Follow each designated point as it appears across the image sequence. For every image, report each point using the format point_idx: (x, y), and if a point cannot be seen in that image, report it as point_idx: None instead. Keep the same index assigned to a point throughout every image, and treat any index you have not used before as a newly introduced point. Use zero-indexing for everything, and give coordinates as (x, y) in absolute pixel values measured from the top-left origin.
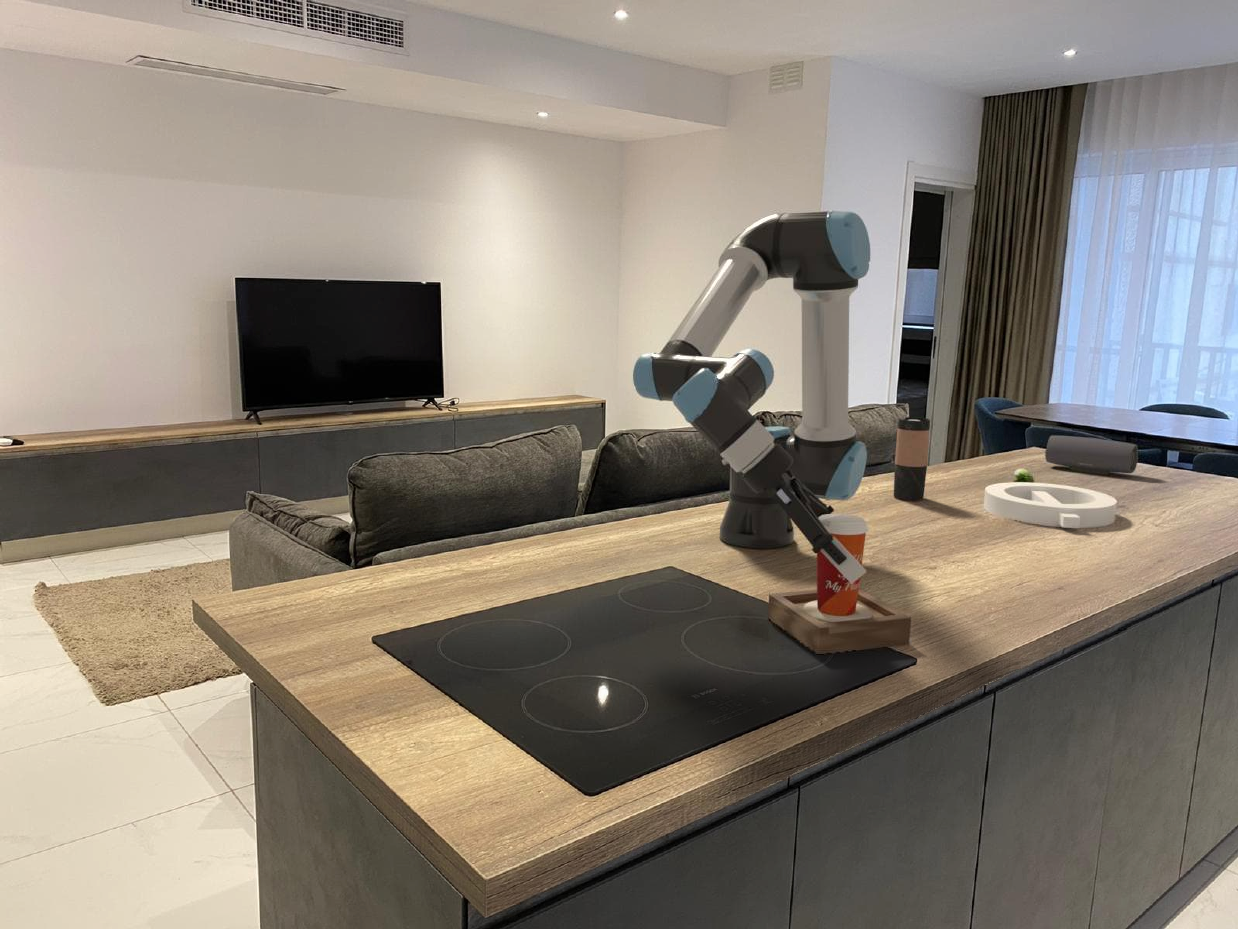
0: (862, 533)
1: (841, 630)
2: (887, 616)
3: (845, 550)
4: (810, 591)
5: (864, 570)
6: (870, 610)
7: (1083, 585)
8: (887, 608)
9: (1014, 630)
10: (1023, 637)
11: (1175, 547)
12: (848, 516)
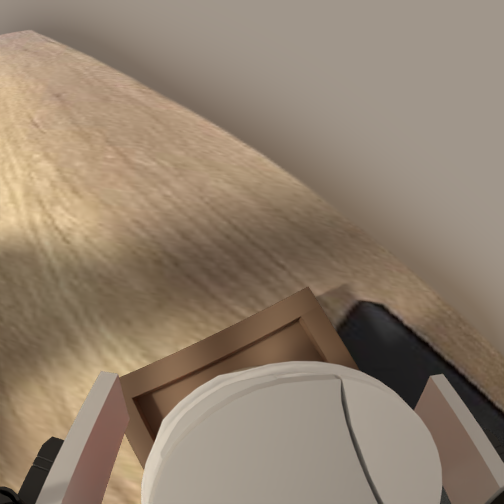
0: (393, 392)
1: None
2: (316, 335)
3: (487, 439)
4: None
5: (445, 379)
6: (236, 366)
7: (56, 81)
8: (260, 329)
9: (198, 146)
10: (225, 142)
11: (7, 47)
12: (216, 481)
